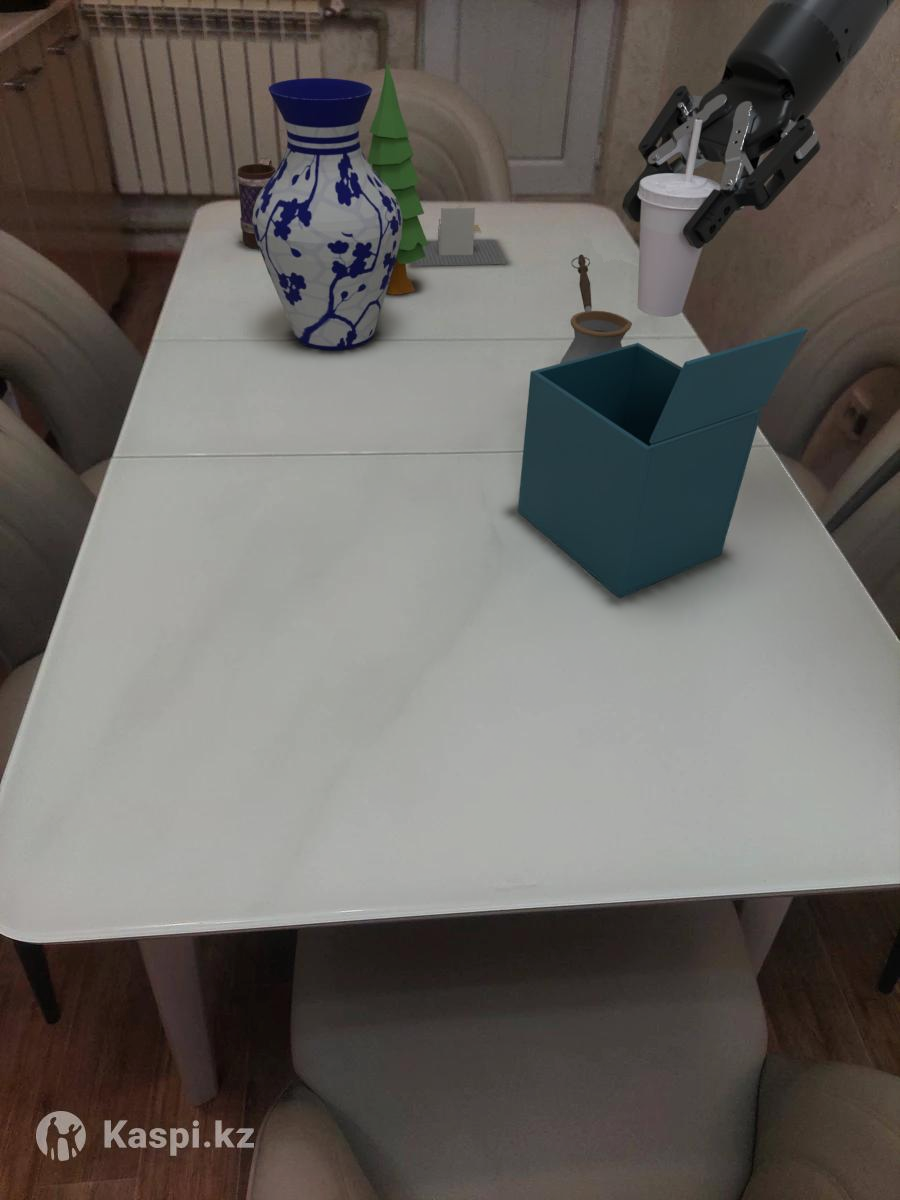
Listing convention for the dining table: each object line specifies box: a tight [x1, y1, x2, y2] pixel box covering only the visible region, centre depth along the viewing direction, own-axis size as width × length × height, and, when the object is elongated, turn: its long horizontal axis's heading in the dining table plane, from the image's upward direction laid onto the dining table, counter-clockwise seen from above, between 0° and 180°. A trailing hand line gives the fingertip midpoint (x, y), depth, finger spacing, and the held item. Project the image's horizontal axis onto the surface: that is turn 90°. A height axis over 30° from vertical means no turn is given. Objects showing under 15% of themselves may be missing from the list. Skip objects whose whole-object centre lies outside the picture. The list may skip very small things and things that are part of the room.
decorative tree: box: [367, 61, 429, 296], centre depth 127 cm, size 10×9×30 cm
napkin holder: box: [436, 204, 482, 256], centre depth 147 cm, size 3×7×7 cm, turn 98°
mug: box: [237, 157, 277, 250], centre depth 148 cm, size 10×7×12 cm
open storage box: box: [517, 342, 762, 599], centre depth 84 cm, size 16×13×16 cm
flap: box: [649, 326, 809, 444], centre depth 70 cm, size 8×13×1 cm
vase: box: [252, 77, 403, 351], centre depth 113 cm, size 19×19×30 cm
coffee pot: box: [559, 254, 633, 364], centre depth 104 cm, size 21×12×15 cm, turn 2°
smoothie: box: [637, 120, 721, 318], centre depth 69 cm, size 6×6×14 cm
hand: (659, 227), depth 69 cm, fingers closed on smoothie, 6 cm apart
